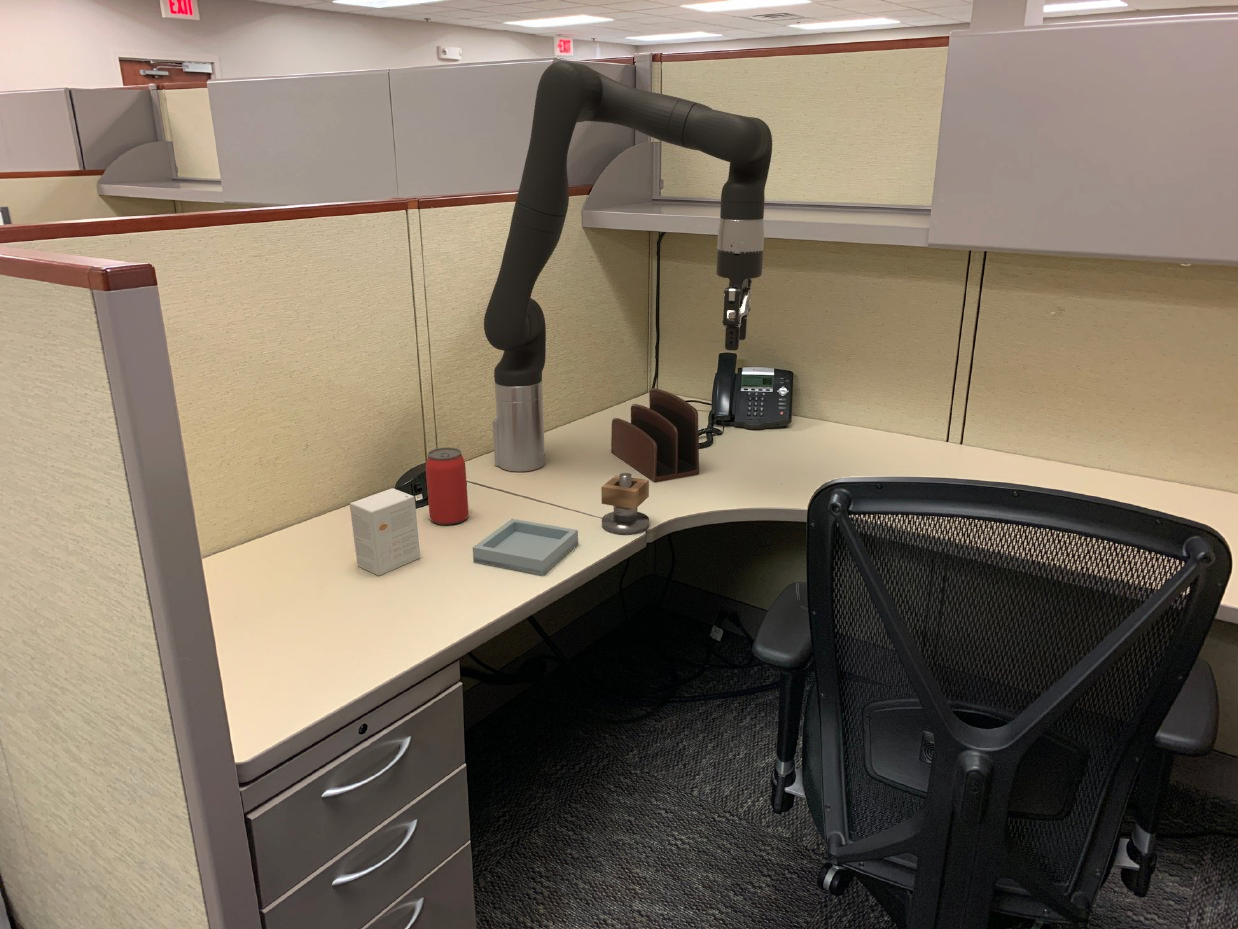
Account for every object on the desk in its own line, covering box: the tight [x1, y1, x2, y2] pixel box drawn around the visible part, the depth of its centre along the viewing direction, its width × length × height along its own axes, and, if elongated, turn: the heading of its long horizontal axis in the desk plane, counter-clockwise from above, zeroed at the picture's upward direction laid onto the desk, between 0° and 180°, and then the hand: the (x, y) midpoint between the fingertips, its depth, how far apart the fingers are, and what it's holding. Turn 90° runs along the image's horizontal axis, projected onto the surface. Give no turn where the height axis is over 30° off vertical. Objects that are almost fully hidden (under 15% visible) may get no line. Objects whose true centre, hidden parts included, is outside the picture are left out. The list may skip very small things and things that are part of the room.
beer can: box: [425, 446, 470, 526], centre depth 147 cm, size 7×7×12 cm
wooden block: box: [601, 474, 650, 509], centre depth 144 cm, size 6×6×3 cm
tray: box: [472, 518, 579, 577], centre depth 136 cm, size 12×12×2 cm
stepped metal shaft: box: [601, 472, 650, 536], centre depth 145 cm, size 8×8×9 cm
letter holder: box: [610, 387, 700, 483], centre depth 173 cm, size 10×20×14 cm, turn 25°
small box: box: [349, 487, 421, 577], centre depth 132 cm, size 8×6×10 cm
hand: (735, 344), depth 148 cm, fingers open, 8 cm apart
